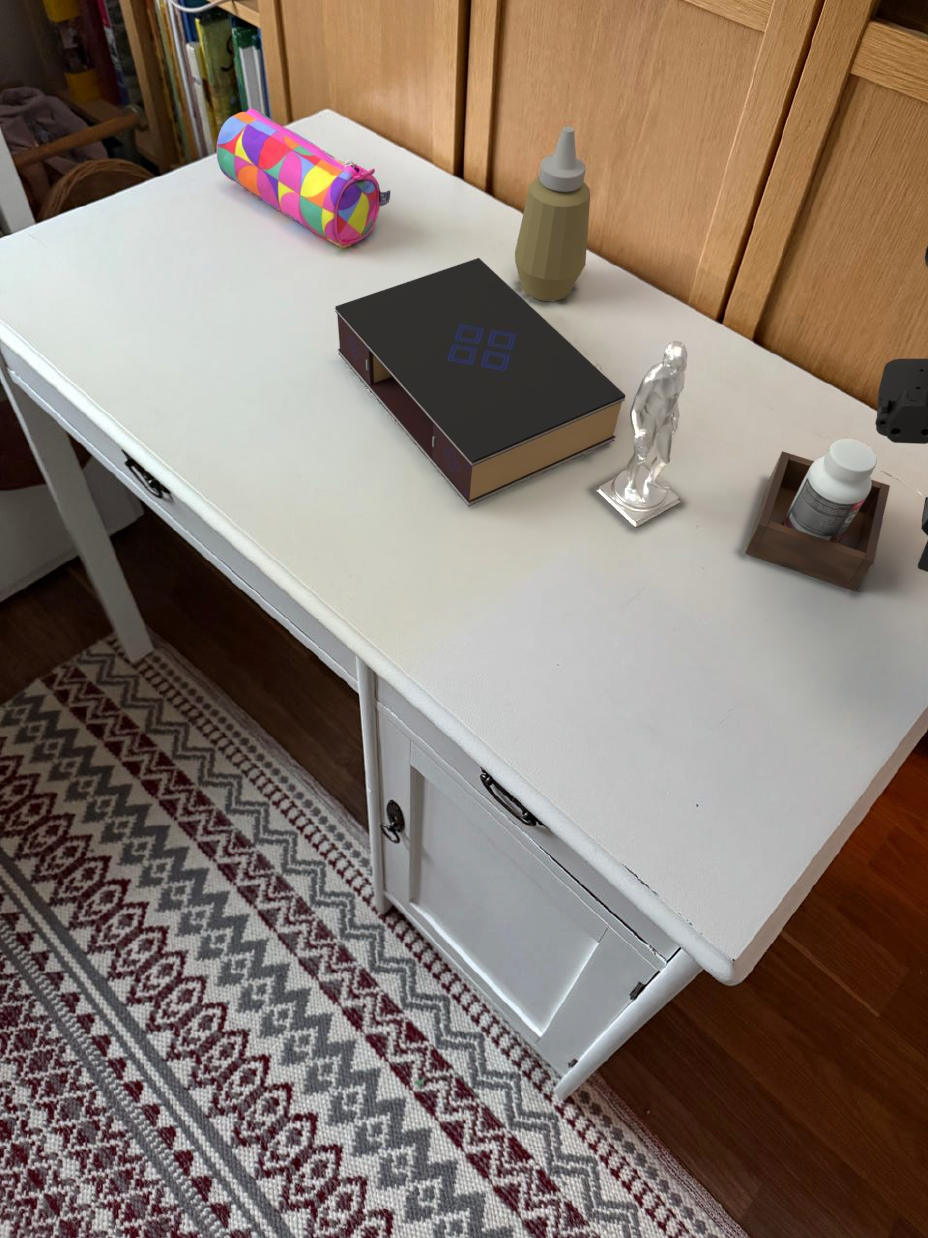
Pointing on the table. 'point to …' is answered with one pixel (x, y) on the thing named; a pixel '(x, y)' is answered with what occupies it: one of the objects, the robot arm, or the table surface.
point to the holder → (808, 551)
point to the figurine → (650, 441)
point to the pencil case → (300, 178)
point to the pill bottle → (833, 491)
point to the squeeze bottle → (554, 225)
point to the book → (477, 378)
